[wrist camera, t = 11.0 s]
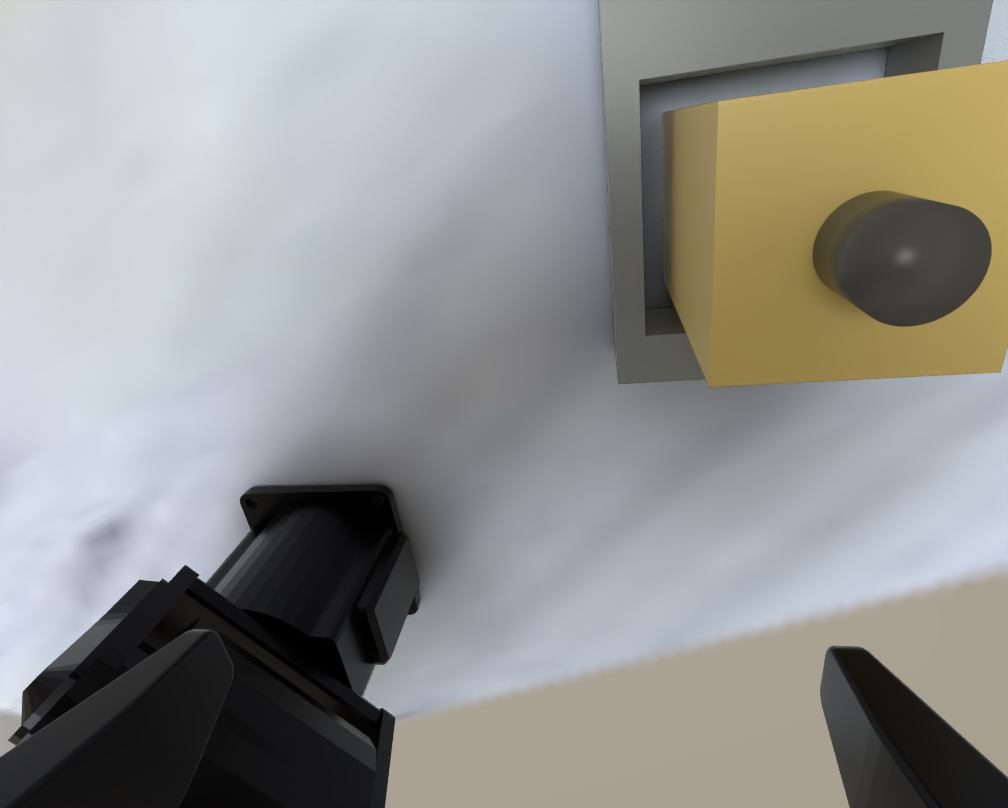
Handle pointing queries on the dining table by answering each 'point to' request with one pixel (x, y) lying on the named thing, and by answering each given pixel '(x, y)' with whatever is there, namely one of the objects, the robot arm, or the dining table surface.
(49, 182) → the dining table surface
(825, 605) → the dining table surface
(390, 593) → the robot arm
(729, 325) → the plug
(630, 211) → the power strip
